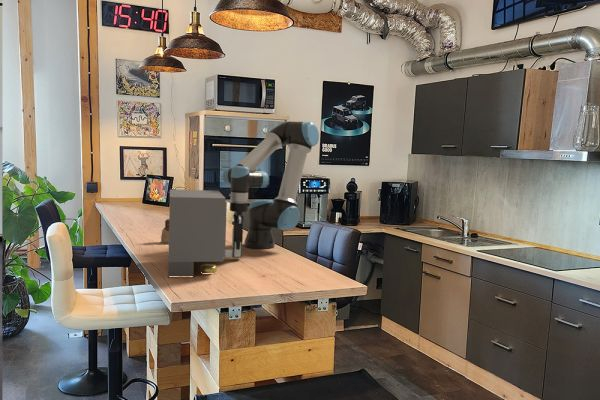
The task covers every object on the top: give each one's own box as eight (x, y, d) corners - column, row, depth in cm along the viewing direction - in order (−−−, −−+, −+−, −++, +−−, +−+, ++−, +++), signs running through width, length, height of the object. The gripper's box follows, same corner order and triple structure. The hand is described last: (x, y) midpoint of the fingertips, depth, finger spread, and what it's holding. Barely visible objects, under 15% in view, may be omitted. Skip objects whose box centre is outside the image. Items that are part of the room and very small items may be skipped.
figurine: (177, 241, 246) (178, 218, 245) (174, 244, 239) (174, 220, 238) (163, 241, 246) (163, 217, 245) (159, 244, 239) (160, 219, 237)
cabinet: (219, 259, 213) (222, 190, 210) (227, 276, 187) (229, 198, 183) (168, 260, 208) (169, 189, 205) (168, 277, 181) (170, 197, 178)
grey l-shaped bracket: (240, 255, 217) (241, 228, 216) (241, 257, 213) (242, 230, 212) (194, 255, 212) (195, 228, 211) (194, 257, 208) (195, 229, 207)
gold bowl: (215, 271, 194) (215, 263, 194) (216, 275, 189) (217, 267, 188) (200, 271, 193) (200, 264, 192) (200, 275, 187) (201, 267, 187)
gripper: (228, 199, 219) (226, 251, 222) (232, 204, 203) (230, 259, 205) (244, 200, 221) (242, 251, 224) (250, 204, 205) (248, 259, 207)
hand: (236, 255), depth 214 cm, fingers closed on grey l-shaped bracket, 4 cm apart
